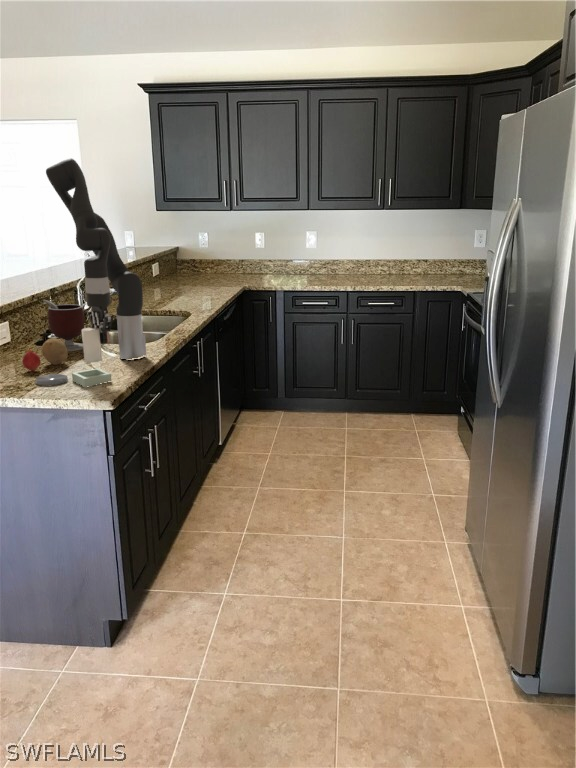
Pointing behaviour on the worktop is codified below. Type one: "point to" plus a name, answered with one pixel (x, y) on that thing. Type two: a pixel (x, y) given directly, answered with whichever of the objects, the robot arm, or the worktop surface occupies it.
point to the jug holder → (91, 377)
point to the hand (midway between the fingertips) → (102, 342)
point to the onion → (31, 360)
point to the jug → (92, 344)
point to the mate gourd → (66, 323)
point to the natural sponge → (54, 351)
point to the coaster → (51, 379)
